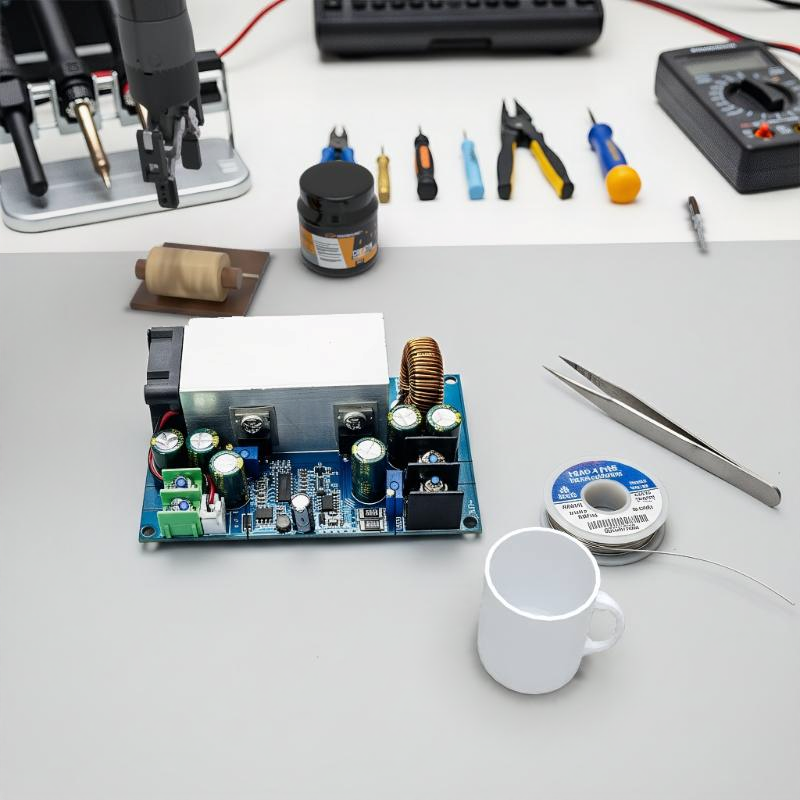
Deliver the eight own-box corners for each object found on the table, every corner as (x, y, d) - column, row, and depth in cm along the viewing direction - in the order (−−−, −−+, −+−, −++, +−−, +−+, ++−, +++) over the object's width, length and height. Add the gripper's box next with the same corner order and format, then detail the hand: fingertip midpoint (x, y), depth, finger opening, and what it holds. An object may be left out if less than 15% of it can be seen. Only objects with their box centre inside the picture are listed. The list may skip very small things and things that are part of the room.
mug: (472, 607, 93) (480, 527, 85) (600, 606, 93) (620, 526, 85) (480, 698, 86) (489, 620, 78) (618, 697, 86) (641, 619, 78)
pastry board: (131, 309, 125) (129, 301, 124) (165, 248, 135) (164, 240, 134) (243, 320, 123) (242, 313, 123) (270, 258, 133) (269, 250, 132)
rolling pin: (134, 302, 124) (126, 263, 120) (150, 274, 128) (142, 235, 124) (235, 312, 123) (230, 273, 118) (248, 284, 127) (243, 245, 123)
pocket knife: (685, 202, 144) (688, 190, 143) (691, 202, 144) (694, 190, 143) (700, 256, 134) (703, 243, 133) (707, 256, 134) (710, 243, 133)
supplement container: (325, 289, 128) (320, 210, 120) (286, 250, 135) (280, 171, 126) (393, 264, 132) (394, 185, 124) (353, 227, 139) (351, 150, 131)
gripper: (147, 21, 109) (170, 153, 120) (99, 79, 99) (129, 217, 110) (213, 26, 109) (230, 158, 120) (171, 84, 98) (194, 223, 109)
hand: (181, 186), depth 115 cm, fingers open, 8 cm apart
